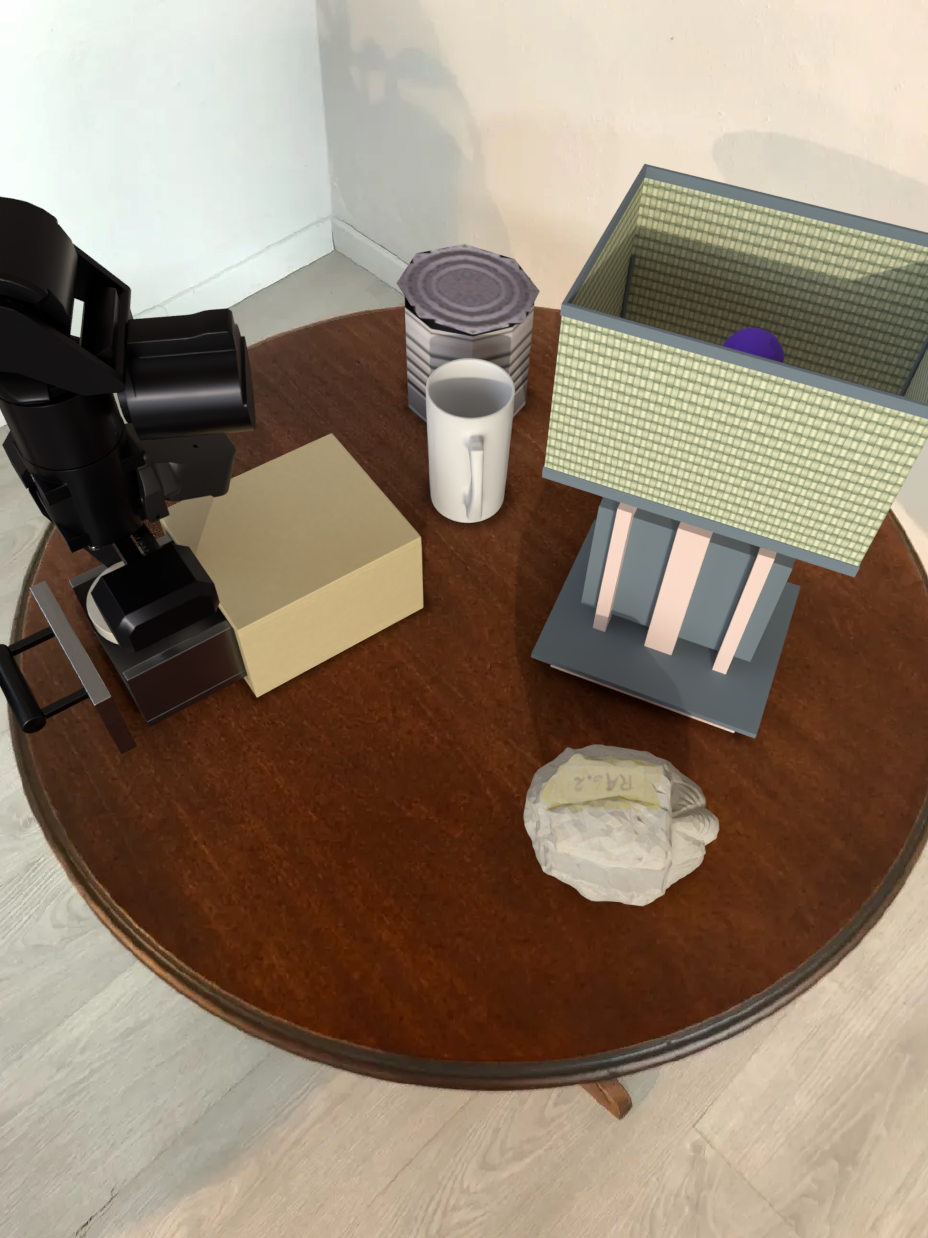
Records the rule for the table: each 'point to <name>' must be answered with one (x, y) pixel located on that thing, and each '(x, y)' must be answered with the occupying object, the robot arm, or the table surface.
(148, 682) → the drawer
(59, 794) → the table surface
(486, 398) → the mug
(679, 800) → the fossil replica
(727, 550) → the desk lamp
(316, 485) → the tan cardboard box
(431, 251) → the can
